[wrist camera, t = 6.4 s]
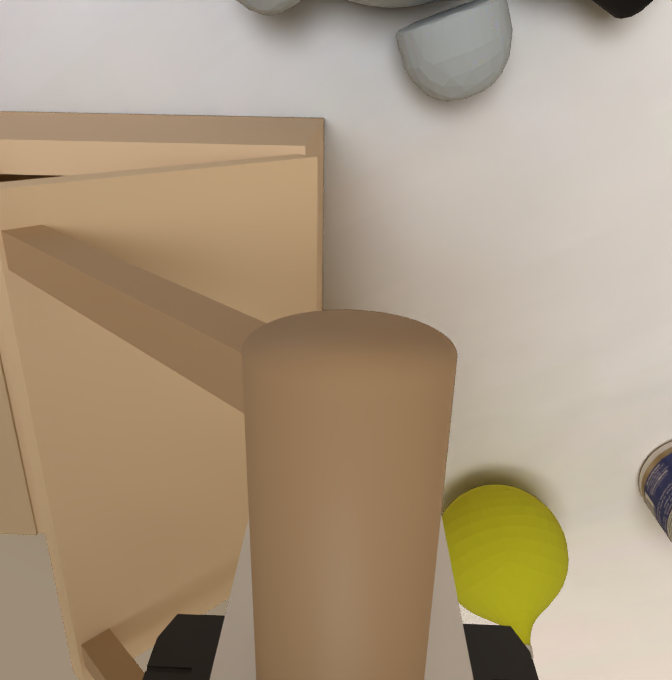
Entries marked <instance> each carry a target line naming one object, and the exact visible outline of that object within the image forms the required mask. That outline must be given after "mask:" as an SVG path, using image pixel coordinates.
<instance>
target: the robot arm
mask: <svg viewBox="0 0 672 680" xmlns="http://www.w3.org/2000/svg"><path fill="white" fill-rule="evenodd" d="M142 680H256V663H255V640H254V618H253V596H252V574H251V551H250V529H249V519H248V523H247V527H246V531H245V535H244V539H243V544H242V548H241V552H240V556H239V560H238V564H237V568H236V573H235V577H234V581H233V585H232V589H231V593H230V597H229V601H228V606H227V610H226V614H225V616H218V615H217V616H216V615H194V614H177V615H176V616H175V617H174V618H173V620H172V621H171V622H170V623H169V624H168V626H167V627H166V628H165V629H164V630H163V631H162V633H161V634H160V635H159V636H158V637H157V640H156V642H155V645H154V648H153V651H152V654H151V657H150V659H149V662H148V665H147V671H146V672H145V673H144V676H143V679H142ZM424 680H539V679H538V676H537V673H536V669H535V666H534V663H533V659H532V656H531V653H530V651H529V649H528V648H527V647H526V645H525V644H524V643H523V642H522V640H521V639H520V638H519V636H518V635H517V634H516V632H515V631H514V630H513V628H512V627H511V626H502V625H478V624H463V623H462V618H461V613H460V608H459V603H458V598H457V592H456V587H455V582H454V577H453V572H452V567H451V562H450V557H449V551H448V546H447V541H446V536H445V531H444V526H443V521H442V516H441V520H440V530H439V540H438V550H437V559H436V569H435V579H434V589H433V598H432V608H431V618H430V628H429V637H428V647H427V657H426V667H425V676H424Z"/></svg>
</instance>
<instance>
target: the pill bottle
mask: <svg viewBox="0 0 672 680" xmlns="http://www.w3.org/2000/svg"><path fill="white" fill-rule="evenodd" d="M639 488H640V492H641V495H642V497H643V499H644V501H645V503H646V504H647V506H648V507H649V509H650V510H651V512H652V513H653V515H654V516H655V518H656V520H657V521H658V523H659V524H660V526H661V527H662V529H663V530H664V532H665V533H666V534H667V536H668V538H669V539H670V541H671V542H672V441H671V442H669V443H667V444H665V445H663V446H661V447H660V448H658V449H657V450H656V451H655V452H653V453H652V454H651V456H650V457H649V458H648V459H647V461H646V462H645V464H644V466H643V468H642V470H641V473H640V477H639Z"/></svg>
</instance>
